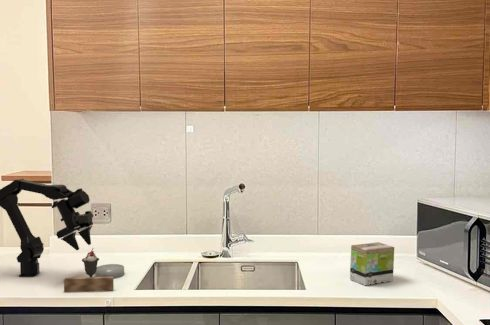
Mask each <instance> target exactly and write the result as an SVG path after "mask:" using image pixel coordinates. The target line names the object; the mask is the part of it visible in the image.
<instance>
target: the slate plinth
mask: <svg viewBox="0 0 490 325" xmlns="http://www.w3.org/2000/svg"><path fill="white" fill-rule="evenodd" d="M123 276H125V266H124V265H123V264H117V263H109V264H102V265H97V270H96V273H95V274H94V277H113V280H114V279H118V278H121V277H123Z"/></svg>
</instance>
